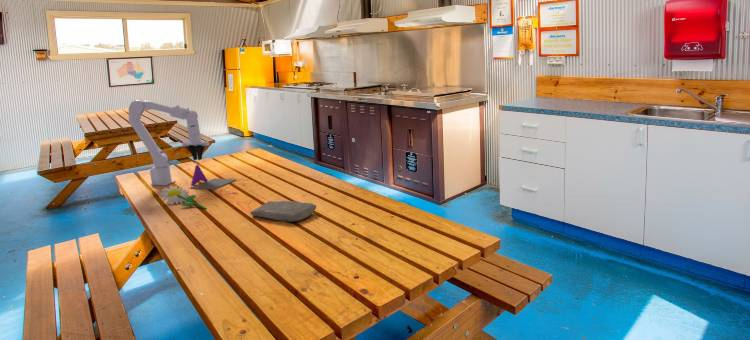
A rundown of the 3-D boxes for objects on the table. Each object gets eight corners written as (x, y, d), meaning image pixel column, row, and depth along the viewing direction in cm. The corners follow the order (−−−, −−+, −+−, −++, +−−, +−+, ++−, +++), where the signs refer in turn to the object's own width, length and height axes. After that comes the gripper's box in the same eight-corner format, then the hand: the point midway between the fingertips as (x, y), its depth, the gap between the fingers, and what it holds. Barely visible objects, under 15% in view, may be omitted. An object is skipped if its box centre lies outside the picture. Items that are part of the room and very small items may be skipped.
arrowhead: (201, 192, 264) (187, 182, 257) (199, 191, 265) (185, 181, 258) (211, 175, 268) (197, 165, 261) (209, 175, 269) (196, 164, 262)
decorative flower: (219, 210, 225) (181, 192, 243) (218, 199, 223) (179, 182, 241) (193, 220, 216) (155, 200, 233) (191, 209, 214) (153, 190, 232)
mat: (190, 188, 255) (190, 187, 255) (214, 179, 271) (214, 178, 271) (213, 189, 250) (213, 188, 250) (236, 180, 266) (236, 179, 266)
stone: (319, 203, 204) (296, 214, 191) (320, 213, 205) (297, 226, 192) (267, 197, 216) (242, 208, 203) (268, 207, 217) (243, 219, 204)
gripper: (177, 135, 266) (181, 161, 269) (202, 134, 262) (206, 161, 265) (185, 132, 272) (188, 158, 275) (210, 132, 269) (213, 158, 272)
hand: (197, 159), depth 271 cm, fingers closed
